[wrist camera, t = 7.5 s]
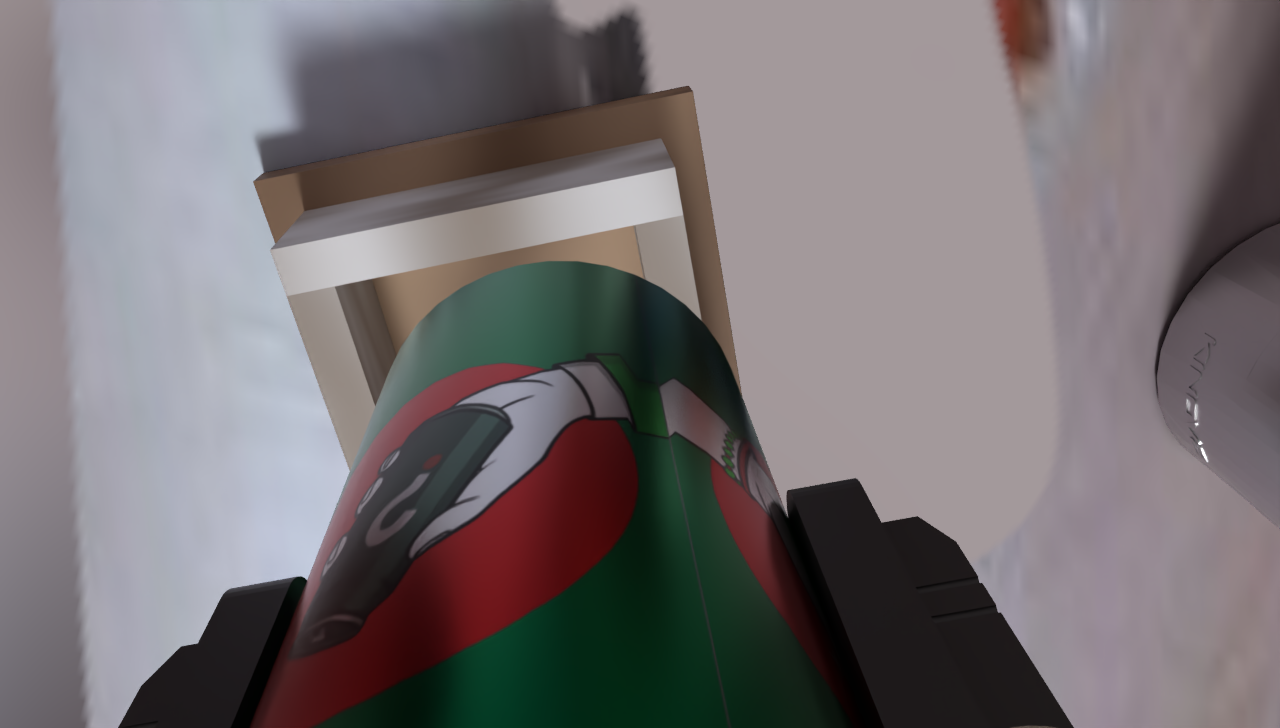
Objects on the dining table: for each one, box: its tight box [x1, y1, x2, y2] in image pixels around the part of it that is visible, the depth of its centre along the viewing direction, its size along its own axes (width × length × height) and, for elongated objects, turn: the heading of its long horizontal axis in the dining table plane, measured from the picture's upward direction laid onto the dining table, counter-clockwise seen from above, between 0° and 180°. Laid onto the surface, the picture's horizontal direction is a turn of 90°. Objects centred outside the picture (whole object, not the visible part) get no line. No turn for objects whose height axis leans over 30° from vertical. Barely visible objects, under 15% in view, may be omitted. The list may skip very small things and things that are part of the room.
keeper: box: [253, 86, 742, 470], centre depth 28 cm, size 12×12×4 cm
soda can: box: [250, 261, 868, 728], centre depth 9 cm, size 5×5×12 cm
